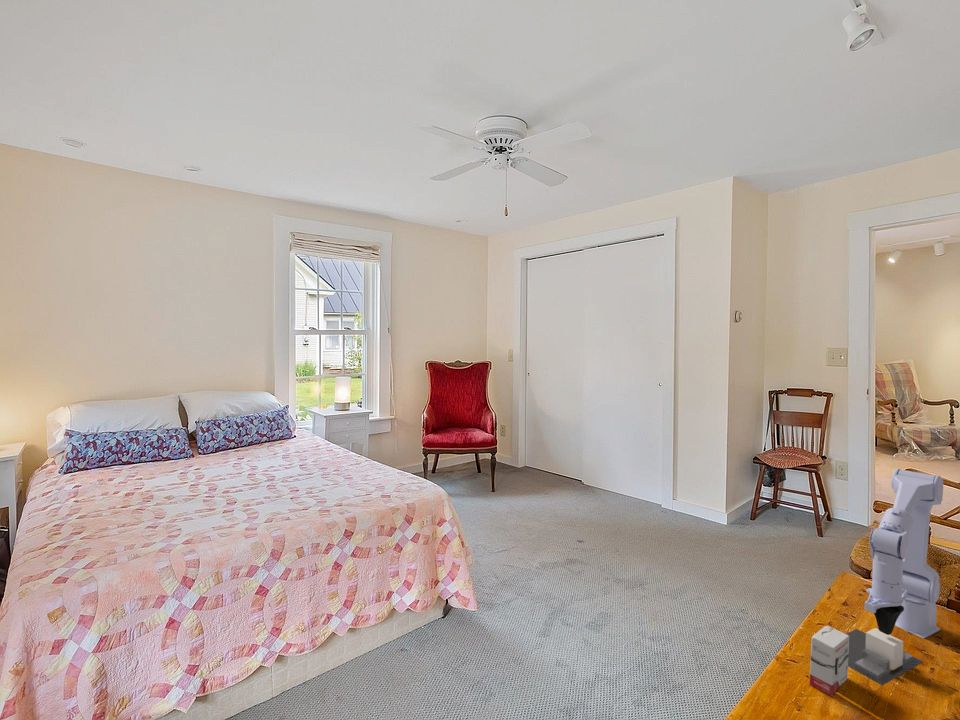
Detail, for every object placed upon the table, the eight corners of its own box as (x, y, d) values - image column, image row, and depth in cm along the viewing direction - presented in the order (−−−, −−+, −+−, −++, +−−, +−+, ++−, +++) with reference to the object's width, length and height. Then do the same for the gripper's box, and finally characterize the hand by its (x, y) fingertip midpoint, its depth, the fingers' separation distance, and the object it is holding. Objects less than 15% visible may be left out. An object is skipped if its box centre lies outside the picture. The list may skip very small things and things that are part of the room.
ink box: (832, 697, 114) (833, 647, 114) (808, 684, 119) (809, 636, 118) (848, 682, 119) (850, 634, 118) (825, 670, 123) (826, 623, 122)
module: (874, 650, 128) (875, 628, 127) (902, 664, 122) (903, 641, 122) (865, 655, 126) (866, 632, 126) (893, 670, 121) (893, 646, 120)
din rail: (856, 631, 138) (856, 618, 138) (923, 664, 124) (923, 649, 124) (815, 651, 130) (815, 637, 130) (881, 688, 117) (882, 672, 116)
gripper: (884, 565, 129) (883, 615, 130) (851, 578, 123) (849, 631, 124) (918, 577, 123) (916, 630, 124) (884, 592, 117) (882, 648, 118)
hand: (885, 632), depth 124 cm, fingers closed
